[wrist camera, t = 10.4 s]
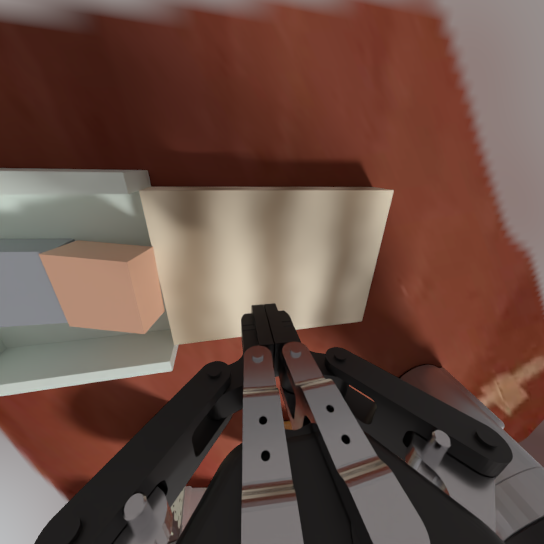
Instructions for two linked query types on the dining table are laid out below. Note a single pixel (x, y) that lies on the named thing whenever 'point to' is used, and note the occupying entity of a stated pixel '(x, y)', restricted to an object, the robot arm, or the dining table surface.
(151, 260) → the tile
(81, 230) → the tray
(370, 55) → the dining table surface
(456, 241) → the dining table surface
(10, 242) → the tile
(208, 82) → the dining table surface
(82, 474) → the dining table surface
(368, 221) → the beige slab
